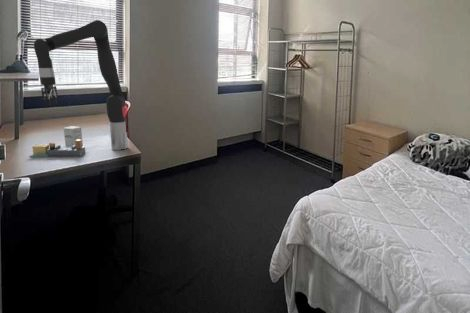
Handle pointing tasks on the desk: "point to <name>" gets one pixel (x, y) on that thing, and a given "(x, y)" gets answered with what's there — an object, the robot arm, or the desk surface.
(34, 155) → the mat
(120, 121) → the robot arm
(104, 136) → the desk surface
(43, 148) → the tan rectangular block
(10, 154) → the desk surface
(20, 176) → the desk surface
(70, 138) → the supplement box
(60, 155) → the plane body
